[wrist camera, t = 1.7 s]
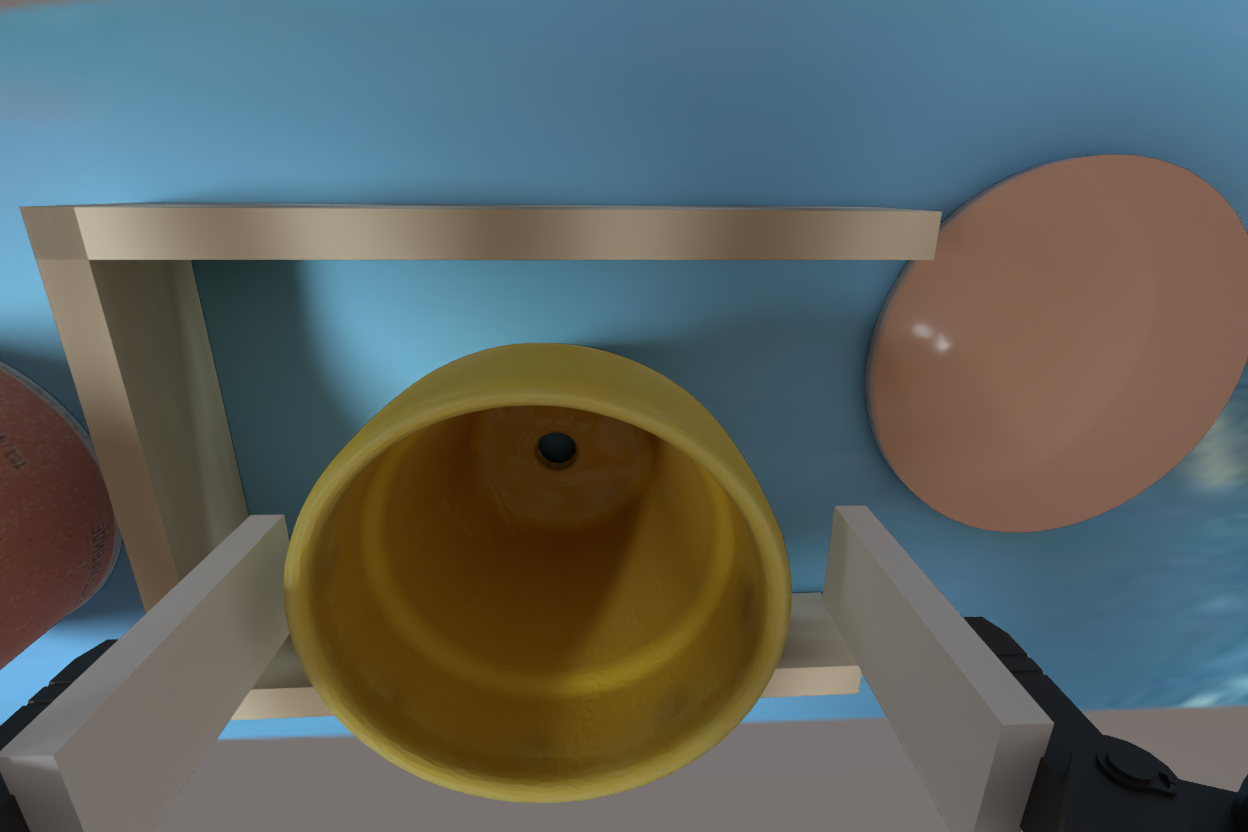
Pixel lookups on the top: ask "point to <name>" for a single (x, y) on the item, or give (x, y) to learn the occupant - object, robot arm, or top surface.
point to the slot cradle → (180, 232)
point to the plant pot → (539, 578)
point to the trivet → (1061, 342)
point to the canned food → (47, 515)
